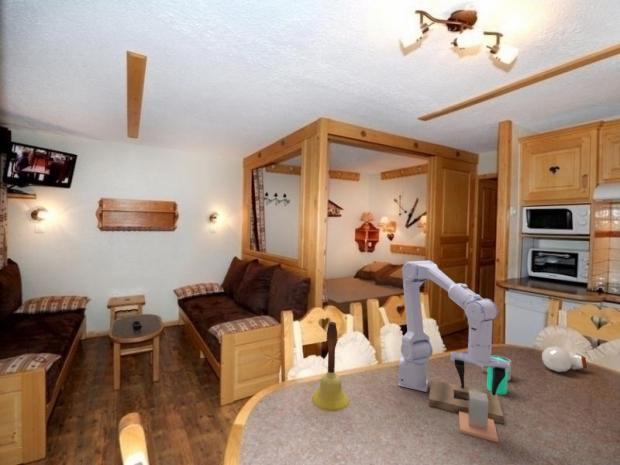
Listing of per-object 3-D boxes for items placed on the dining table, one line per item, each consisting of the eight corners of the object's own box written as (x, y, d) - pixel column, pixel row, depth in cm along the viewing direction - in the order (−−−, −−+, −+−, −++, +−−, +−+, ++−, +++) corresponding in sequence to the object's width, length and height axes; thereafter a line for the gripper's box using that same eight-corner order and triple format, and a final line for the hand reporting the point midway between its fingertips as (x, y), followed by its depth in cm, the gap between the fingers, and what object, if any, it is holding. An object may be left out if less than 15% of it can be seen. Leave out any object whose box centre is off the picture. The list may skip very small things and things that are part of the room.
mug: (510, 375, 117) (511, 358, 117) (510, 382, 111) (511, 364, 111) (480, 368, 122) (481, 351, 122) (479, 375, 117) (480, 357, 117)
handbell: (342, 387, 106) (343, 315, 105) (355, 408, 94) (357, 327, 93) (307, 391, 103) (309, 317, 102) (316, 413, 91) (318, 330, 90)
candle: (510, 395, 103) (511, 360, 102) (490, 393, 104) (492, 358, 104) (502, 386, 109) (504, 353, 108) (484, 384, 110) (485, 351, 110)
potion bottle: (540, 372, 122) (573, 376, 124) (560, 368, 114) (596, 371, 116) (532, 348, 128) (564, 352, 129) (550, 342, 120) (585, 346, 121)
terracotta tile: (459, 432, 84) (460, 429, 84) (458, 413, 92) (458, 411, 92) (498, 442, 80) (498, 439, 80) (493, 422, 89) (493, 419, 89)
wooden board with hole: (428, 405, 96) (429, 398, 96) (430, 385, 108) (431, 379, 108) (503, 423, 88) (503, 416, 88) (496, 400, 100) (496, 393, 100)
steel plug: (468, 425, 86) (469, 397, 85) (467, 416, 90) (468, 389, 89) (487, 430, 84) (488, 402, 83) (485, 421, 88) (486, 393, 88)
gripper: (451, 342, 85) (449, 390, 86) (513, 353, 79) (510, 404, 80) (451, 334, 92) (449, 379, 92) (508, 343, 86) (506, 391, 86)
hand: (477, 390), depth 87 cm, fingers open, 7 cm apart
